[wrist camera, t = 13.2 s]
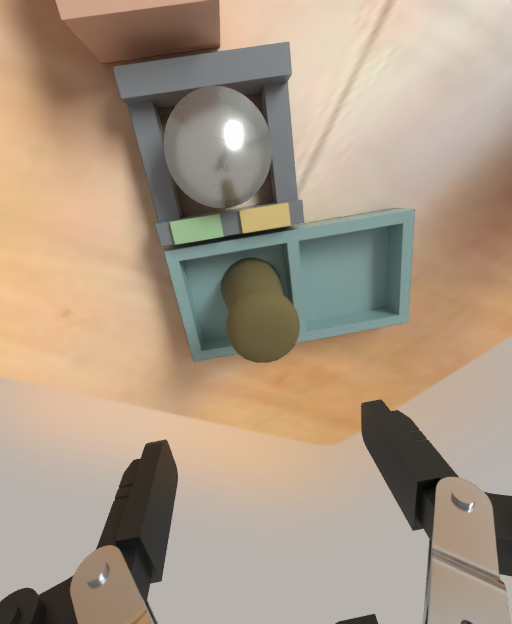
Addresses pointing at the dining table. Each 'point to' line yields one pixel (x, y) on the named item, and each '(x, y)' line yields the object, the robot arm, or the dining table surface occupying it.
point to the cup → (142, 26)
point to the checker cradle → (168, 92)
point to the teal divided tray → (303, 276)
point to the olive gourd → (258, 311)
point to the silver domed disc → (217, 146)
